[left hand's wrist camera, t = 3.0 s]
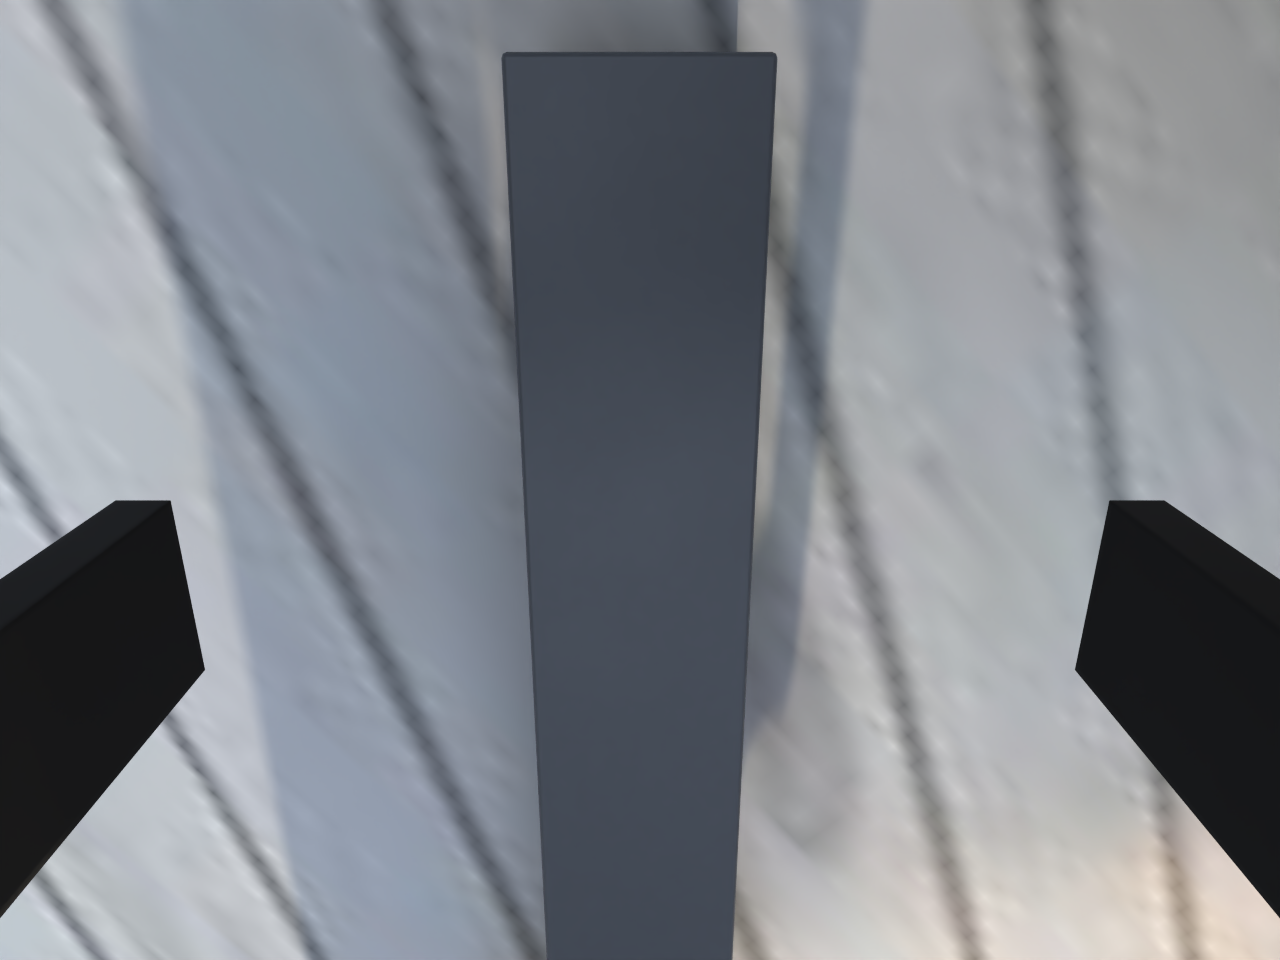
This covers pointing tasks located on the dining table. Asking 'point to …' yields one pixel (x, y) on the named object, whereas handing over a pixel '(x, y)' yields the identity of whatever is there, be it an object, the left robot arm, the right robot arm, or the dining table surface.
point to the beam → (639, 476)
